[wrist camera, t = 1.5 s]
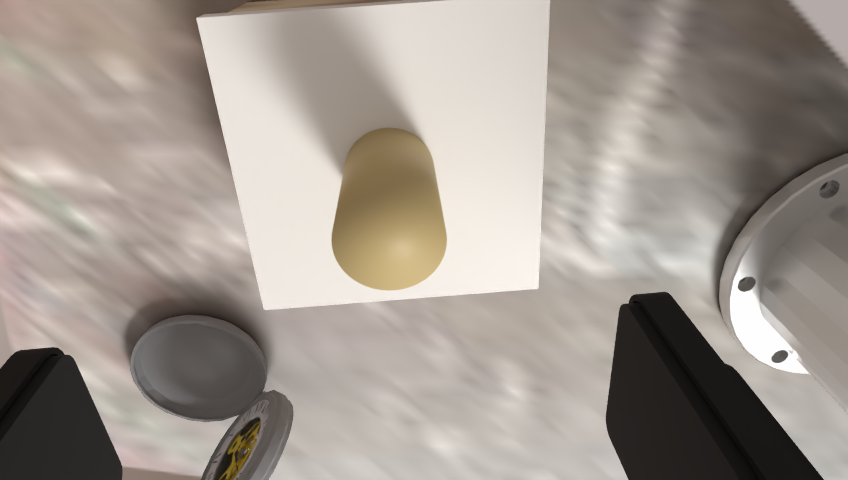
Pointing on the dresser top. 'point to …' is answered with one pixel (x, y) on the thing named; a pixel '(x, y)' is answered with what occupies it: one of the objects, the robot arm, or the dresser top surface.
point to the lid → (385, 145)
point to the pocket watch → (215, 390)
